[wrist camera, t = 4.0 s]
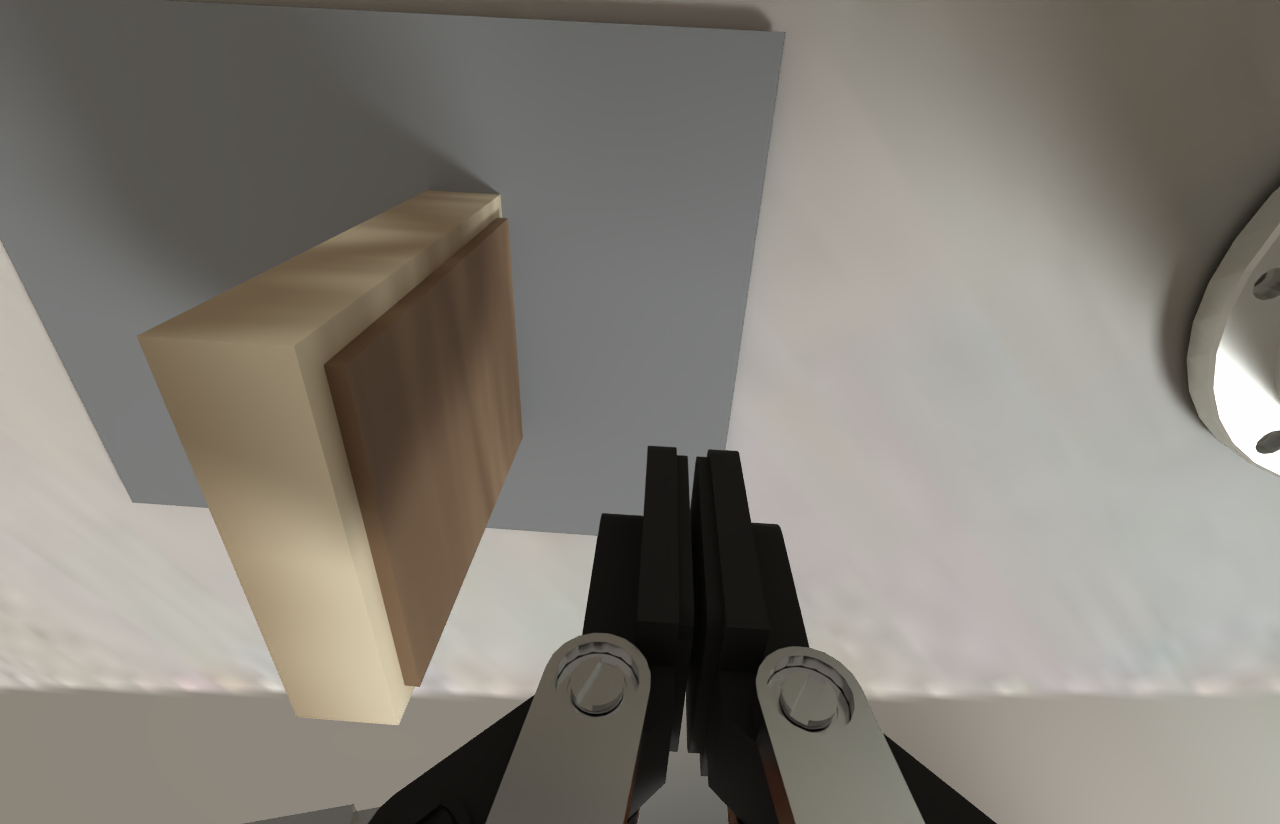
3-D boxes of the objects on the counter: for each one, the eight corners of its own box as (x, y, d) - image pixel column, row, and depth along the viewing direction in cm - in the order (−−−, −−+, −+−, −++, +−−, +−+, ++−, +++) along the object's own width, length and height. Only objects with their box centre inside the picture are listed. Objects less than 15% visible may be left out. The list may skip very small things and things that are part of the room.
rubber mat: (782, 32, 14) (785, 31, 14) (711, 536, 22) (711, 543, 22) (-110, -14, 15) (-128, -15, 14) (140, 495, 23) (132, 502, 22)
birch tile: (511, 194, 16) (317, 348, 7) (526, 442, 20) (414, 726, 11) (427, 190, 16) (136, 336, 7) (459, 437, 20) (297, 716, 11)
